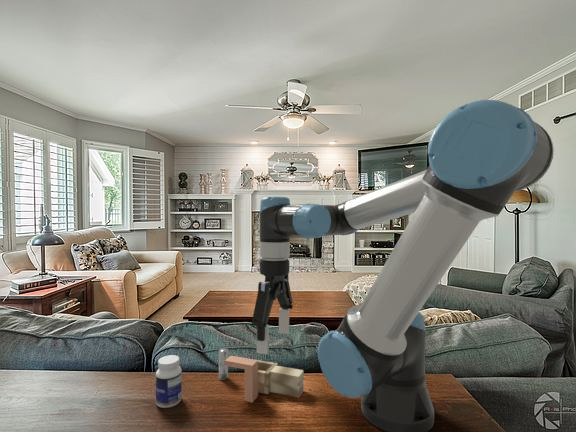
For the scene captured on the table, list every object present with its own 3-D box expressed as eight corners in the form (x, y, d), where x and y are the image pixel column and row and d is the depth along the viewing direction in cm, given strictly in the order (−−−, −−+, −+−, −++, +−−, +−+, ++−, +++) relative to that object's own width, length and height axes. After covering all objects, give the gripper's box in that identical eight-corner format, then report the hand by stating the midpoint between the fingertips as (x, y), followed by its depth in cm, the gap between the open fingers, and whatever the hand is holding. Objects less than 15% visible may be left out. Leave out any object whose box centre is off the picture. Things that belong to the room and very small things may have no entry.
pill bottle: (151, 402, 76) (151, 359, 76) (174, 392, 80) (174, 351, 80) (162, 412, 72) (162, 367, 72) (186, 401, 76) (186, 358, 76)
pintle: (229, 376, 87) (229, 349, 87) (224, 381, 85) (224, 352, 85) (221, 375, 88) (221, 347, 88) (217, 379, 86) (217, 351, 86)
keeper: (258, 395, 78) (258, 360, 78) (252, 402, 75) (252, 365, 75) (230, 390, 81) (230, 355, 81) (224, 396, 78) (224, 360, 78)
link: (305, 387, 82) (305, 368, 82) (297, 400, 76) (297, 379, 76) (256, 378, 86) (256, 359, 86) (246, 389, 81) (246, 369, 81)
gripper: (279, 252, 94) (279, 324, 95) (236, 264, 71) (236, 360, 71) (304, 253, 92) (303, 328, 92) (267, 266, 68) (267, 366, 69)
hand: (274, 342), depth 82 cm, fingers open, 13 cm apart
